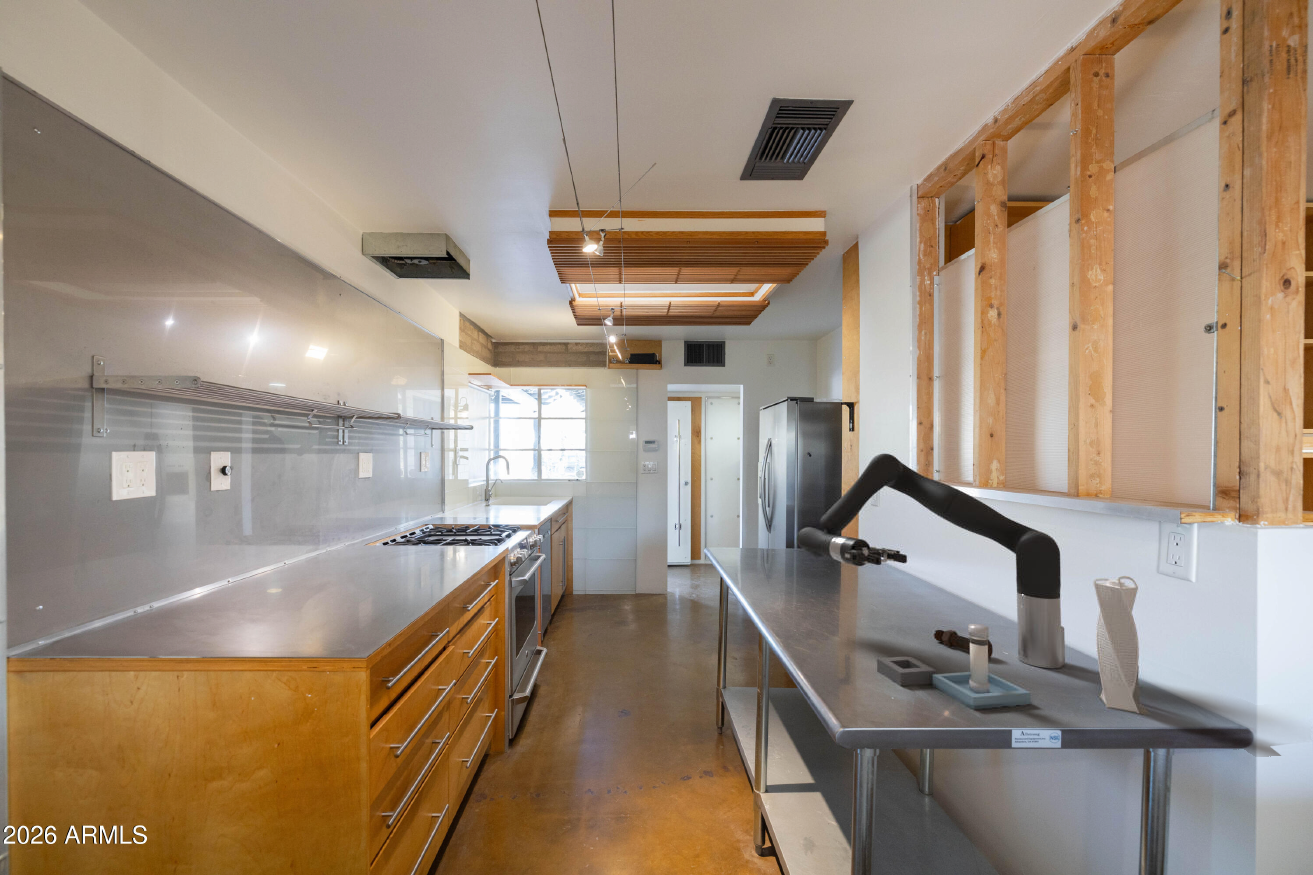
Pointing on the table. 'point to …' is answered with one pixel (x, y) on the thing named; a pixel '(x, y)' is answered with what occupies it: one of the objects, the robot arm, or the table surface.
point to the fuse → (979, 659)
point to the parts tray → (998, 696)
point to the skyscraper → (1118, 645)
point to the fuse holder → (905, 671)
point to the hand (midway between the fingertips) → (893, 560)
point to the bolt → (957, 640)
